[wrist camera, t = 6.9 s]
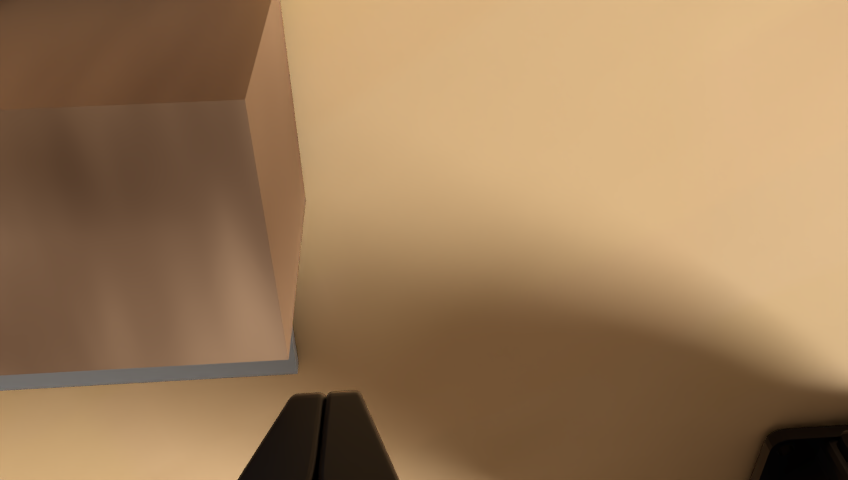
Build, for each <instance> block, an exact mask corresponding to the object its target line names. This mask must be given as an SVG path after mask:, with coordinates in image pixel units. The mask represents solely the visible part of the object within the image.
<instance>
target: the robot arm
mask: <svg viewBox="0 0 848 480" xmlns="http://www.w3.org/2000/svg"><path fill="white" fill-rule="evenodd" d="M238 480H399V478H398V476H397V473H396V471H395V469H394V467H393V464H392V462H391V460H390V458H389V455H388V453H387V451H386V449H385V446H384V444H383V442H382V440H381V437H380V435H379V433H378V431H377V428H376V426H375V424H374V422H373V419H372V417H371V415H370V413H369V410H368V408H367V406H366V404H365V401H364V399H363V397H362V395H361V393H360V392H359V391H356V390H351V391H334V392H330V393H328V395H327V397H326V396H325V394H323V393H320V392H318V393H302V394H295V395H293V396H292V397H291V398H290V399H289V400H288V402H287V403H286V405H285V407H284V408H283V410H282V411H281V413H280V414H279V416H278V417H277V419H276V421H275V422H274V424H273V425H272V427H271V428H270V430H269V431H268V433H267V435H266V436H265V438H264V439H263V441H262V442H261V444H260V445H259V447H258V449H257V450H256V452H255V453H254V455H253V456H252V458H251V460H250V461H249V463H248V464H247V466H246V467H245V469H244V470H243V472H242V474H241V475H240V477H239V478H238ZM750 480H848V425H843V426H826V427H810V428H793V429H782V430H777V431H775V432H773V433H771V434H770V435H769V436H767V438H766V439H765V441H764V443H763V446H762V449H761V452H760V454H759V457H758V460H757V462H756V465H755V468H754V471H753V473H752V476H751V479H750Z"/></svg>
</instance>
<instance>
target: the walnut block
mask: <svg viewBox="0 0 848 480" xmlns="http://www.w3.org/2000/svg"><path fill="white" fill-rule="evenodd" d="M305 202H306V199H305V191H304V183H303V176H302V168H301V160H300V152H299V144H298V137H297V129H296V121H295V113H294V105H293V98H292V90H291V82H290V74H289V66H288V59H287V51H286V43H285V35H284V27H283V20H282V12H281V4H280V0H0V376H1V375H19V374H37V373H56V372H74V371H92V370H110V369H128V368H146V367H164V366H182V365H201V364H219V363H237V362H255V361H273V360H289V351H290V342H291V332H292V323H293V314H294V305H295V295H296V286H297V277H298V267H299V258H300V249H301V240H302V230H303V221H304V212H305Z"/></svg>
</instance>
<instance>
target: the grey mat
mask: <svg viewBox="0 0 848 480" xmlns="http://www.w3.org/2000/svg"><path fill="white" fill-rule="evenodd" d="M298 364H299V363H298V356H297V350H296V344H295V338H294V331H293V325H292V332H291V342H290V351H289V360H273V361H255V362H237V363H219V364H201V365H182V366H164V367H146V368H128V369H110V370H92V371H74V372H56V373H37V374H19V375H1V376H0V391H3V390H21V389H39V388H56V387H74V386H92V385H109V384H127V383H144V382H162V381H180V380H197V379H215V378H233V377H250V376H268V375H285V374H298Z"/></svg>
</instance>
